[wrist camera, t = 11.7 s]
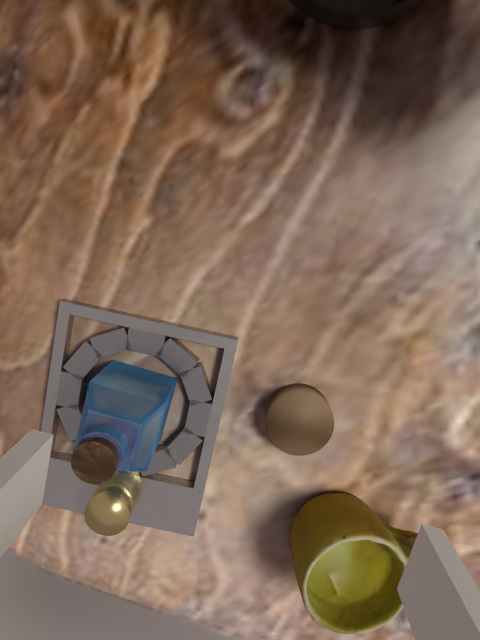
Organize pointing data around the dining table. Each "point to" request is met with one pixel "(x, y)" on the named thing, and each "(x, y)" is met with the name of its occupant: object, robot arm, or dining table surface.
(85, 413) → the perfume bottle
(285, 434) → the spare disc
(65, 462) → the plate
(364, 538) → the mug
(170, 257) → the dining table surface
